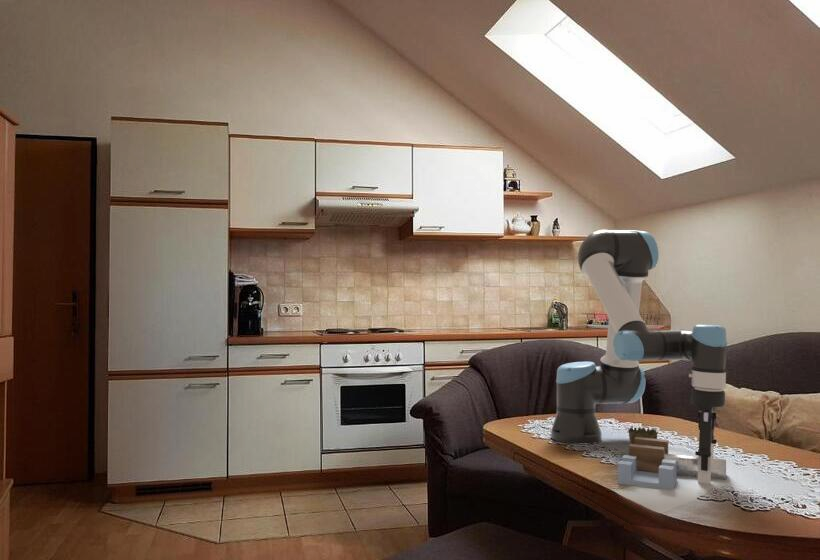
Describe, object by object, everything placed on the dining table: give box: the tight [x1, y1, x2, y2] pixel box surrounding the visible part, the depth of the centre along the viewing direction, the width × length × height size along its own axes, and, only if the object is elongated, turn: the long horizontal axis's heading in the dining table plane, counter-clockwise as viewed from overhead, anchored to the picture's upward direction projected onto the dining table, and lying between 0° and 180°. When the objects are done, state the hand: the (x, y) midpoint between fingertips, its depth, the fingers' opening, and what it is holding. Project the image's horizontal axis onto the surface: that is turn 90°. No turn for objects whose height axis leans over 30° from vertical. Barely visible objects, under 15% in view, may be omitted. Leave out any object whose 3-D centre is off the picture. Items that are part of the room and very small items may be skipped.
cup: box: [627, 426, 659, 445], centre depth 177 cm, size 8×7×8 cm
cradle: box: [617, 454, 678, 491], centre depth 155 cm, size 9×12×5 cm
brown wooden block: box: [628, 437, 669, 473], centre depth 166 cm, size 12×8×7 cm
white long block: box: [665, 453, 727, 480], centre depth 161 cm, size 5×16×5 cm, turn 65°
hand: (705, 476), depth 159 cm, fingers open, 13 cm apart
